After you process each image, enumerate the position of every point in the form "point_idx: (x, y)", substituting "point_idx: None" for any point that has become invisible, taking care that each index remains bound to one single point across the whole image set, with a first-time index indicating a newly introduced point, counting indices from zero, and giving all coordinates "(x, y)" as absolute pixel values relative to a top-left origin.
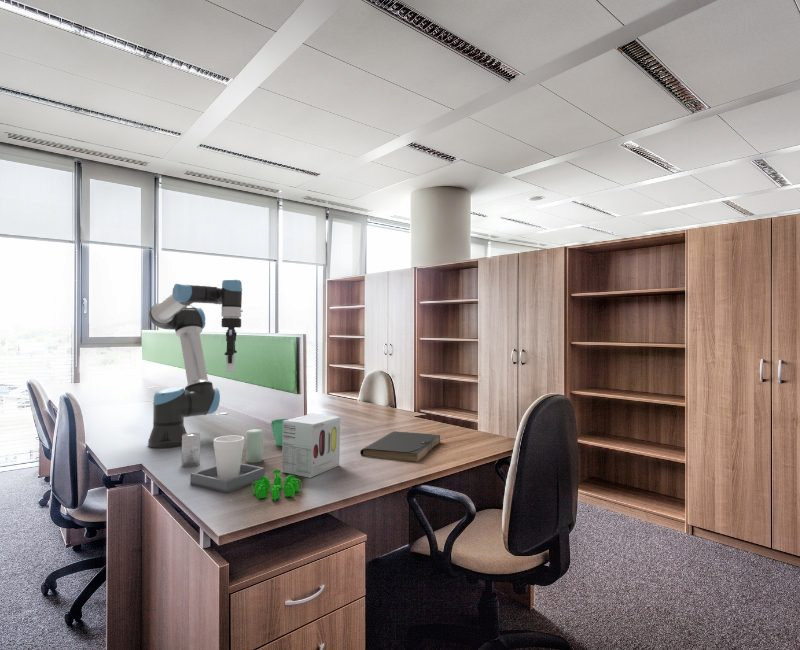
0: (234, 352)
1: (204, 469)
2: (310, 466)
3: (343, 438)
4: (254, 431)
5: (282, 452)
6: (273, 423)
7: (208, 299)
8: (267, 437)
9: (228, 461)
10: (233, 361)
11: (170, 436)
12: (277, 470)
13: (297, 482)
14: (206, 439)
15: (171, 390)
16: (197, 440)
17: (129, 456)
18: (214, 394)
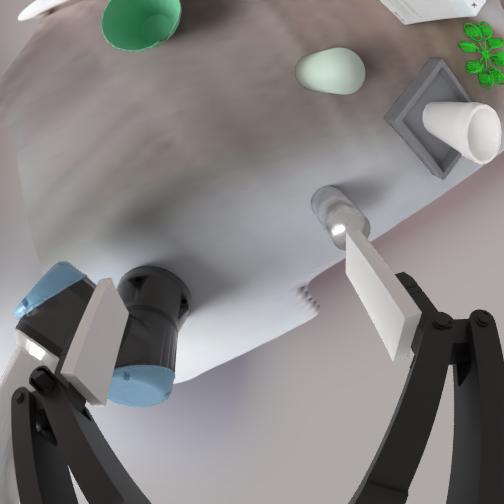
0: (59, 382)
1: (430, 162)
2: None
3: None
4: (346, 72)
5: (428, 20)
6: (126, 49)
7: None
8: (75, 93)
9: (473, 125)
10: (394, 275)
11: (179, 300)
12: (498, 53)
13: (488, 28)
14: (106, 238)
15: (139, 391)
16: (358, 210)
17: (247, 321)
18: (53, 296)
